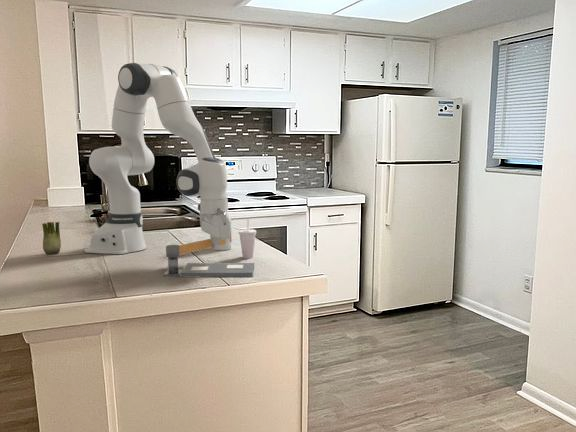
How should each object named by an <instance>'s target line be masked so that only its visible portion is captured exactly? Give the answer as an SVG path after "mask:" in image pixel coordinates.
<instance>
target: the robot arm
mask: <svg viewBox="0 0 576 432" xmlns="http://www.w3.org/2000/svg"><path fill="white" fill-rule="evenodd" d="M117 81H118V87H117V90H116V93H115V97H114V101H113V109H112V116H111V117H112V118H111V129H112V131H113V132H114V133H115V134H116V135H117V136H118V137H120V140H121V145H120V146H117V145H116V146H104V147H98V148H96V149H94V150H93V151H92V152H91V154H90V155H89V159H88V164H89V167H90V169H91V171H92V173H93V174H94V175H96V176H98V178H99V179H101V180H102V182H103V183H104V186H105V188H106V189H107V194H108V201H109V212H107V214H105V215H104V216H103V217H104V220H105V223H104V224H103V225H101V226H100V227H99V228H97V229H96V230H95V231H94V232H93V233H92V234H91V237H90V242H89V245H87V246H85V247H84V251H83V252H84V253H86V254H107V255H110V254H111V255H112V254H113V255H124V254H127V253H133V252H139V251H144V250H145V249H147V248H148V247H147V244H146V240H145V237H144V236H145V235H144V232H143V223H144V222H143V221H144V220H143V212H142V211H141V210H142V209H141V193H140V191H139V189H138V188H136V187H135V186H133V185H131V183H130V182H129V178H128V176H137V175H143V174H145V173H149V172H150V171H152V169H153V168H154V166H155V156H154V153H153V152H152V151H151V149H150V148H149V147H148V146H147V144H146V141H145V137H144V128H145V117H146V110H147V102H148V99H150V98H154V100H155V105H156V110H157V113H158V116H159V120H160V123H161V125H162V126H163V128H164V129H165V131H167V132H169V133H171V134H172V135H175V136H178V137H179V138H181V139H184V140H185V141H186V142H187V143H189V144H190V146H191V147H192V148H193V149H192V150H193V152H194V153H195V156H196V159H197V163H195V164H194V165H190V167H187V168H183V169H181V170H180V171H179V172H178V174H177V177H176V187H177V190H178V191H179V193H180V194H181V195H182V196H184V197H191V198H192V197H199V199H200V201H199V203H198V204H197V210H198V211H199V212H198V213H199V224H200V229H201V231H202V232H204V233H206V234H208V235H209V236H210V238H209V239H211V242H212V248H214V249H219V248H220V240H224V239H230V236H231V237H232V231H231V232H230V221H229V217H228V216H227V215H226V214H225V213H227V212H229V204H228V203H229V200H228V194H227V187H228V179H227V178H228V177H227V176H228V174H227V168H226V164H225V162H224V160H222V159H220V158H217V157H215V154H214V151H213V148H212V145H211V143H210V141H209V138H208V136H207V133H206V131H205V129H204V127H203V125H202V124H201V123H200V122H199V121H198V118H197V117H196V116H195V113H194V111H193V109H192V105H191V102H190V97H189V96H188V93H187V90H186V87H185V85H184V83H183V81H182V79H181V78H180V77H179V75H178V74H177V72H176V71H175V70H174V69H172V68H170V67H168V66H165V65H164V66H161V65H158V64H153V63H137V62H129V63H125V64H123V65H122V66H121V67H120V69H119V71H118V75H117ZM212 248H211V249H212Z"/></svg>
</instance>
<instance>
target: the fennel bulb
mask: <svg viewBox="0 0 576 432" xmlns="http://www.w3.org/2000/svg"><path fill="white" fill-rule="evenodd" d="M41 225H42V230H43V238H42V250H43V253H44V254H46V255H55V254H59V253H60V252H61V247H62V240H61V232H60V221H55V223H54V221H48V222H44V223H41Z"/></svg>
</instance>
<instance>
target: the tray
mask: <svg viewBox="0 0 576 432" xmlns="http://www.w3.org/2000/svg"><path fill="white" fill-rule="evenodd" d="M182 270H183V271H182V272H181V275H180V277H181V278H183V277H184V278H185V277H186V276H187V277H188V276H196V277H201V278H203V277H208V278H209V277H212V278H213V277H214V276H217V278H218V277H221V278H222V277H226V278H227V277H230V278H231V277H253V276H254V271H255V262H192V263H191V262H188V263H187V264H186V265H185V267H184V268H183V269H182ZM187 277H186V278H187Z"/></svg>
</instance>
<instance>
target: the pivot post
mask: <svg viewBox="0 0 576 432" xmlns="http://www.w3.org/2000/svg"><path fill="white" fill-rule="evenodd" d="M167 264H168V265H167V267H168V269H166V271H165V272H164V273H163V277H181V272H182V271H183V270H184V269H179V257H174V258H169V257H167Z"/></svg>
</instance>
